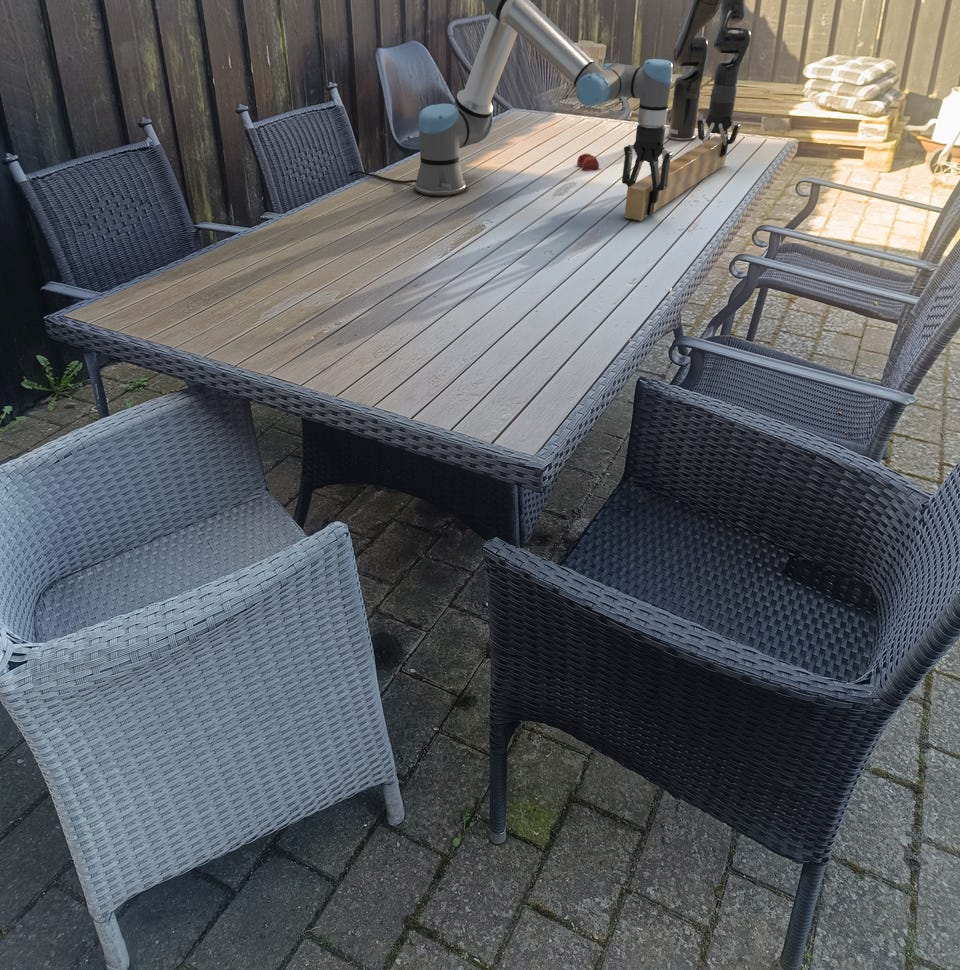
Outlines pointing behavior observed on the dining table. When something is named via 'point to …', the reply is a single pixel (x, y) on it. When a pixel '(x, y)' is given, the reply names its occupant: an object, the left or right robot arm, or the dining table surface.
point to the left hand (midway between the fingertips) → (640, 211)
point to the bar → (676, 178)
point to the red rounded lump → (588, 161)
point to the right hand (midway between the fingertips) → (713, 155)
